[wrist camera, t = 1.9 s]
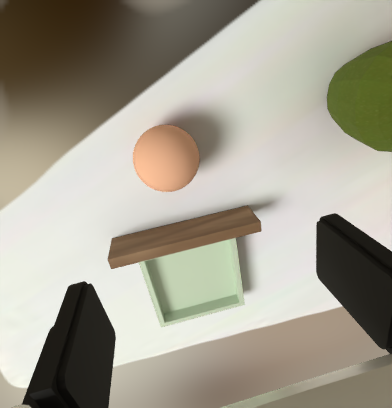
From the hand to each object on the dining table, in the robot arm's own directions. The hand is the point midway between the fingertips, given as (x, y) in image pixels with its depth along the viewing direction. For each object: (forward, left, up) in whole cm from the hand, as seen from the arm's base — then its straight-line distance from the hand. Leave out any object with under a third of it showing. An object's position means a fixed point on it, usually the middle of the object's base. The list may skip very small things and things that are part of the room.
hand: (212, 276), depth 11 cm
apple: (-3, +18, -19) cm, 27 cm away
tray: (+15, -1, -19) cm, 24 cm away
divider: (+8, -1, -19) cm, 20 cm away
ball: (-1, -1, -19) cm, 19 cm away
